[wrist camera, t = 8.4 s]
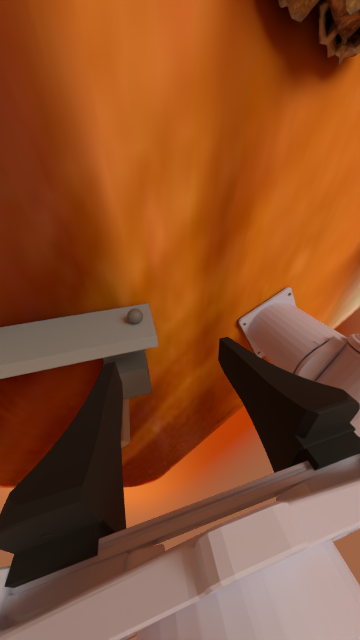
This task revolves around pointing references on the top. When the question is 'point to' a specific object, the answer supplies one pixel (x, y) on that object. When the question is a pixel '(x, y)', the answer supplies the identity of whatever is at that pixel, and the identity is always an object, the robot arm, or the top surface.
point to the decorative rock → (332, 23)
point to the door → (75, 339)
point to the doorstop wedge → (132, 372)
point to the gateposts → (125, 424)
